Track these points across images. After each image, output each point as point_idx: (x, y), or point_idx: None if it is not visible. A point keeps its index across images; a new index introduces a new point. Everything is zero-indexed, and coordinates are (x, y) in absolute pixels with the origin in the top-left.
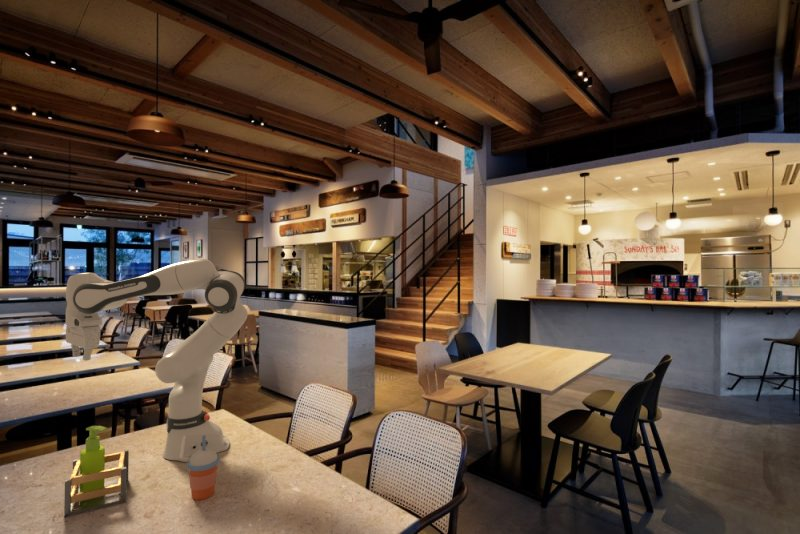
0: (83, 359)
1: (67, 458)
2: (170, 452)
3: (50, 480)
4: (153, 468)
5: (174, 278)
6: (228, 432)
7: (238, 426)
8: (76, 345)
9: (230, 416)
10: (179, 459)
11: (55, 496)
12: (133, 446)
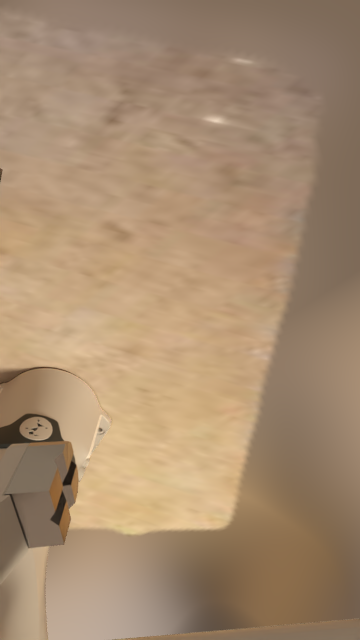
0: (39, 445)
1: (239, 214)
2: (23, 383)
3: (123, 146)
4: (8, 334)
5: None
6: (87, 494)
7: (103, 517)
8: (236, 633)
9: (175, 528)
10: (4, 384)
11: (9, 131)
12: (178, 345)
